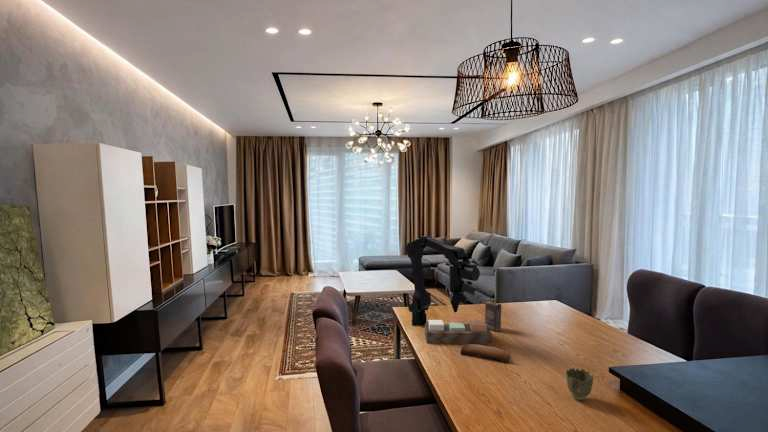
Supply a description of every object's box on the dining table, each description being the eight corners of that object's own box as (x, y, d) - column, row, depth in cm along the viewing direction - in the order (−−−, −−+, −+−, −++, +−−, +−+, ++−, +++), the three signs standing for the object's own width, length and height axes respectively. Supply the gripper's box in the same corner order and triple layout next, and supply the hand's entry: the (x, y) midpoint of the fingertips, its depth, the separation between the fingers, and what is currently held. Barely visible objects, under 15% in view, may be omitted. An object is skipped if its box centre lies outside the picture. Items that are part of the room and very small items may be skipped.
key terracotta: (472, 335, 156) (472, 325, 155) (469, 330, 162) (469, 320, 161) (486, 335, 155) (486, 325, 155) (483, 330, 161) (483, 320, 161)
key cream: (429, 335, 156) (429, 324, 156) (428, 329, 162) (428, 319, 162) (443, 335, 156) (443, 324, 156) (442, 329, 162) (442, 319, 162)
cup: (560, 392, 115) (561, 368, 115) (582, 391, 116) (583, 367, 116) (574, 406, 108) (575, 380, 108) (598, 405, 109) (599, 378, 108)
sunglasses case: (511, 354, 143) (510, 343, 140) (509, 370, 138) (508, 358, 134) (464, 346, 150) (463, 335, 147) (461, 361, 145) (459, 350, 142)
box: (501, 329, 169) (501, 303, 169) (495, 331, 167) (496, 305, 166) (490, 325, 174) (490, 300, 173) (484, 328, 171) (484, 302, 170)
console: (426, 343, 154) (426, 332, 154) (424, 333, 165) (424, 323, 164) (491, 343, 153) (491, 333, 153) (485, 334, 164) (485, 324, 164)
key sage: (450, 338, 156) (451, 327, 156) (448, 332, 162) (449, 322, 162) (465, 338, 156) (465, 327, 155) (462, 332, 162) (462, 322, 161)
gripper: (479, 282, 149) (478, 320, 150) (470, 272, 168) (469, 305, 169) (451, 282, 150) (451, 319, 151) (446, 272, 168) (445, 305, 169)
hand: (455, 312), depth 160 cm, fingers closed
